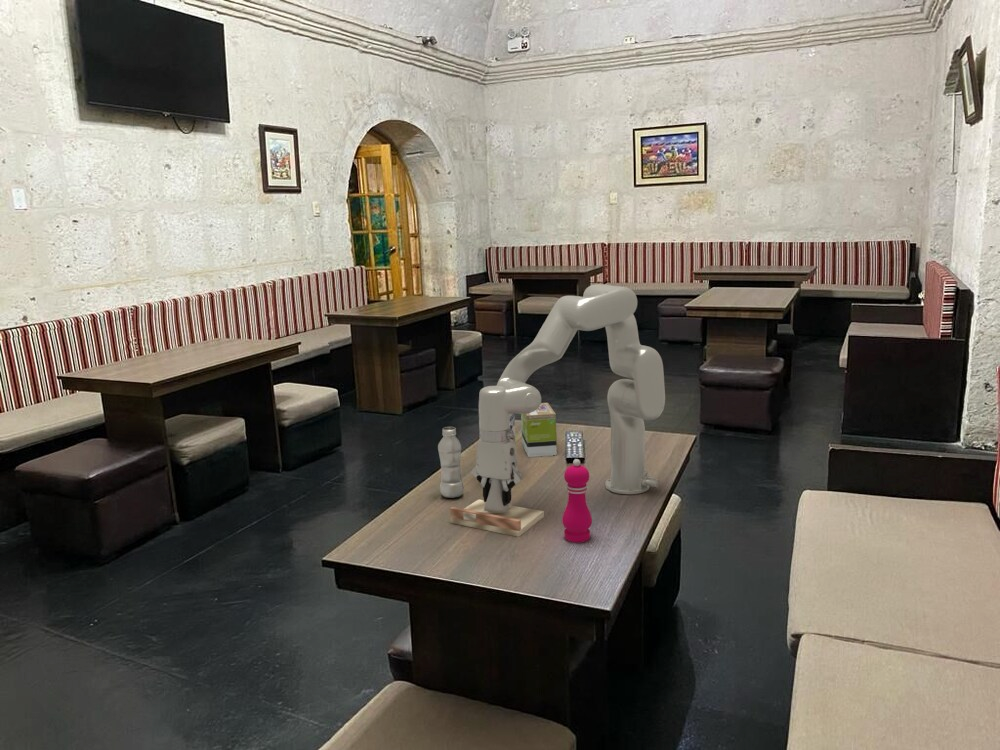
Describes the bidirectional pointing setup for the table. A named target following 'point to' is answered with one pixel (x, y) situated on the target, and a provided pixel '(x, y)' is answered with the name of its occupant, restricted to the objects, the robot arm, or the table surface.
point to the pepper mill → (576, 504)
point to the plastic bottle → (450, 464)
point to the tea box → (539, 432)
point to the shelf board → (496, 518)
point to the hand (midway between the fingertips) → (497, 501)
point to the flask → (496, 498)
